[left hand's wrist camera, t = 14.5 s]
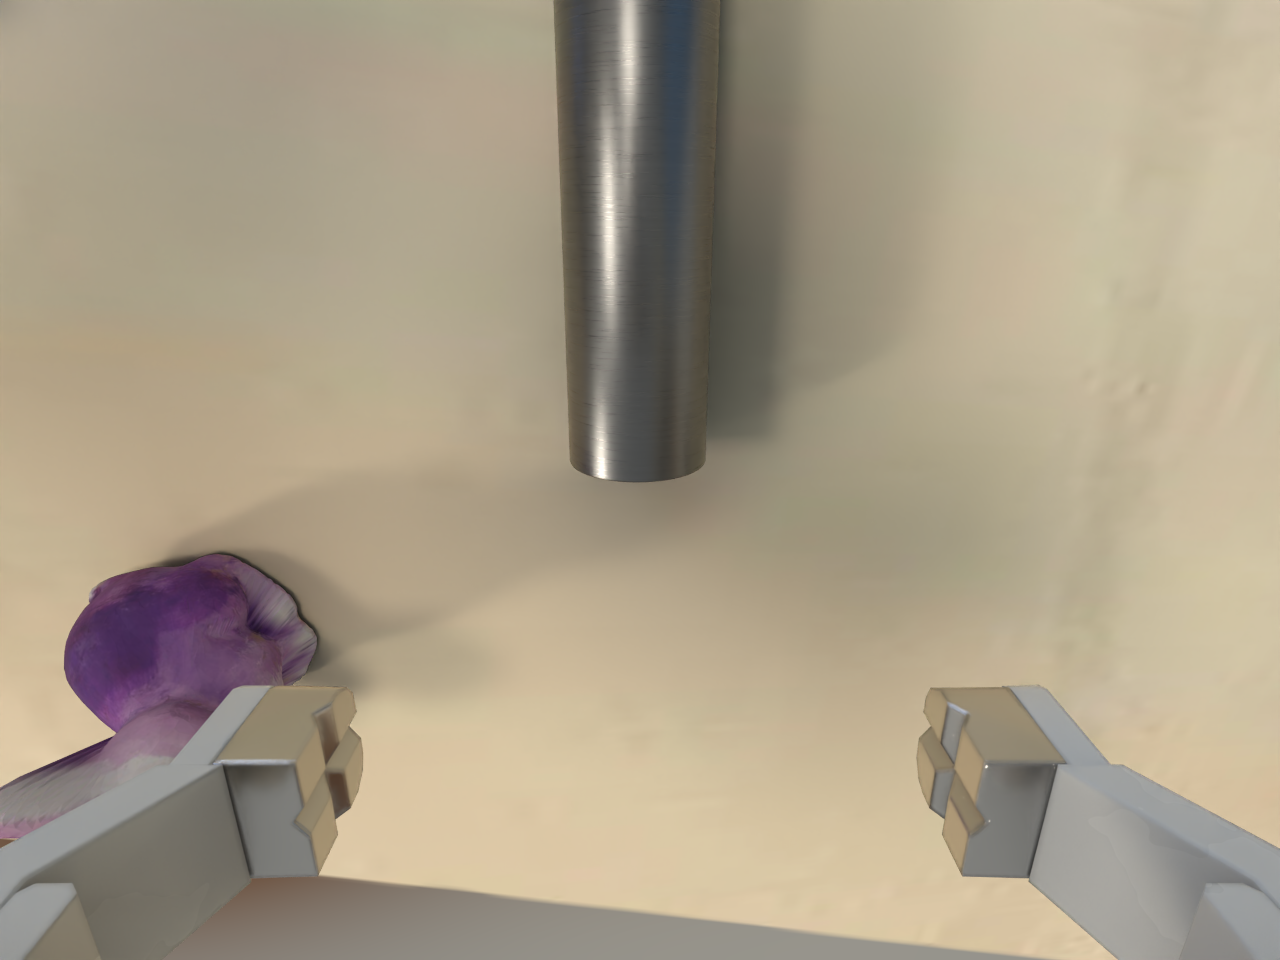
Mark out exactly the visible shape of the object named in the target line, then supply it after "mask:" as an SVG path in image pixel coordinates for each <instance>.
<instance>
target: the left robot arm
mask: <svg viewBox="0 0 1280 960" xmlns="http://www.w3.org/2000/svg"><path fill="white" fill-rule="evenodd" d="M356 712H357V711H356V706H355V702H354V697H353V692H352V691H350V690H349V689H348V688H347V687H324V686H279V685H278V686H272V685H242V686H240V687H237V688H234V689H233V690H232V691H231V692H230V693H229V694H228V695H227V697H226V698H225V699H224V700H223V701H222V703H221V704H220V705H219V706H218V707H217V708H216V710H215V711H214V712H213V713H212V714H211V716H210V717H209V718H208V719H207V720H206V722H205V723H204V724H203V725H202V726H201V727H200V729H199V730H198V731H197V732H196V733H195V735H194V736H193V737H192V738H191V739H190V740H189V742H188V743H187V744H186V745H185V746H184V748H183V749H182V750H181V751H180V752H179V754H178V755H177V756H176V757H175V758H174V759H173V761H172V762H171V763H170V764H169V765H156V766H154V767H152V768H150V769H149V770H147V771H145V772H143V773H141V774H139V775H137V776H135V777H134V778H132V779H130V780H128V781H126V782H124V783H122V784H120V785H118V786H117V787H115V788H113V789H111V790H109V791H107V792H105V793H103V794H102V795H100V796H98V797H96V798H94V799H92V800H90V801H88V802H87V803H85V804H83V805H81V806H79V807H77V808H75V809H73V810H72V811H70V812H68V813H66V814H64V815H62V816H60V817H58V818H57V819H55V820H53V821H51V822H49V823H47V824H45V825H43V826H41V827H40V828H38V829H36V830H34V831H32V832H30V833H28V834H26V835H25V836H23V837H21V838H19V839H17V840H15V841H13V842H11V843H10V844H8V845H6V846H4V847H2V848H0V960H162V959H163V958H165V957H166V956H167V955H168V954H169V953H170V952H171V951H173V950H174V949H175V948H176V947H177V946H178V945H179V944H181V943H182V942H183V941H184V940H185V939H186V938H187V937H189V936H190V935H191V934H192V933H193V932H194V931H196V930H197V929H198V928H199V927H200V926H201V925H202V924H203V923H205V922H206V921H207V920H208V919H209V918H210V917H212V916H213V915H214V914H215V913H216V912H217V911H218V910H220V909H221V908H222V907H223V906H224V905H225V904H226V903H228V902H229V901H230V900H231V899H232V898H233V897H234V896H236V895H237V894H238V893H239V892H240V891H241V890H242V889H244V888H245V887H246V886H247V885H248V884H249V883H250V882H251V878H275V877H309V876H318V875H319V873H320V871H321V869H322V866H323V864H324V862H325V860H326V858H327V856H328V854H329V852H330V850H331V848H332V846H333V844H334V842H335V840H336V838H337V835H338V832H337V826H336V820H335V819H336V818H338V817H339V816H341V815H342V814H343V813H345V812H346V811H347V810H349V809H350V808H351V806H352V804H353V802H354V799H355V797H356V795H357V793H358V790H359V785H360V781H361V776H362V771H363V749H362V742H361V738H360V737H359V736H358V735H357V734H356V733H355V732H354V731H353V730H352V729H351V728H350V727H349V725H350V723H351V721H352V720H353V718H354V716H355V714H356ZM923 712H924V714H925V716H926V718H927V720H928V721H929V723H930V725H931V727H930V728H929V729H928V730H927V731H926V732H925V733H924V734H923V735H922V736H921V737H920V738H919V743H918V751H917V768H918V778H919V782H920V786H921V789H922V793H923V795H924V797H925V799H926V802H927V804H928V806H929V808H930V809H931V810H933V811H934V812H935V813H937V814H938V815H939V816H941V817H942V818H944V819H945V820H944V826H943V832H942V836H943V838H944V840H945V842H946V844H947V846H948V848H949V850H950V852H951V854H952V856H953V858H954V860H955V862H956V864H957V866H958V868H959V870H960V873H961V875H962V876H969V877H1004V878H1029V882H1030V883H1031V884H1032V885H1033V886H1034V887H1036V888H1037V889H1038V890H1039V891H1040V892H1041V893H1042V894H1044V895H1045V896H1046V897H1047V898H1048V899H1049V900H1050V901H1052V902H1053V903H1054V904H1055V905H1056V906H1057V907H1058V908H1060V909H1061V910H1062V911H1063V912H1064V913H1065V914H1066V915H1068V916H1069V917H1070V918H1071V919H1072V920H1073V921H1074V922H1076V923H1077V924H1078V925H1079V926H1080V927H1081V928H1082V929H1084V930H1085V931H1086V932H1087V933H1088V934H1089V935H1090V936H1092V937H1093V938H1094V939H1095V940H1096V941H1097V942H1098V943H1100V944H1101V945H1102V946H1103V947H1104V948H1105V949H1106V950H1108V951H1109V952H1110V953H1111V954H1112V955H1113V956H1114V957H1116V958H1117V959H1118V960H1280V849H1279V848H1278V847H1276V846H1274V845H1272V844H1270V843H1268V842H1266V841H1264V840H1263V839H1261V838H1259V837H1257V836H1255V835H1253V834H1251V833H1249V832H1248V831H1246V830H1244V829H1242V828H1240V827H1238V826H1236V825H1234V824H1233V823H1231V822H1229V821H1227V820H1225V819H1223V818H1221V817H1219V816H1218V815H1216V814H1214V813H1212V812H1210V811H1208V810H1206V809H1204V808H1203V807H1201V806H1199V805H1197V804H1195V803H1193V802H1191V801H1190V800H1188V799H1186V798H1184V797H1182V796H1180V795H1178V794H1176V793H1175V792H1173V791H1171V790H1169V789H1167V788H1165V787H1163V786H1161V785H1160V784H1158V783H1156V782H1154V781H1152V780H1150V779H1148V778H1146V777H1145V776H1143V775H1141V774H1139V773H1137V772H1135V771H1133V770H1131V769H1130V768H1128V767H1126V766H1124V765H1111V764H1110V763H1109V762H1108V761H1107V759H1106V758H1105V757H1104V756H1103V755H1102V754H1101V752H1100V751H1099V750H1098V749H1097V748H1096V746H1095V745H1094V744H1093V743H1092V742H1091V741H1090V739H1089V738H1088V737H1087V736H1086V735H1085V733H1084V732H1083V731H1082V730H1081V729H1080V728H1079V726H1078V725H1077V724H1076V723H1075V722H1074V720H1073V719H1072V718H1071V717H1070V716H1069V715H1068V713H1067V712H1066V711H1065V710H1064V709H1063V707H1062V706H1061V705H1060V704H1059V703H1058V701H1057V700H1056V699H1055V698H1054V697H1053V696H1052V694H1051V693H1050V692H1049V691H1048V690H1047V689H1046V688H1044V687H1042V686H1040V685H1020V686H1002V687H957V688H930V690H929V692H928V694H927V696H926V700H925V706H924V711H923Z"/></svg>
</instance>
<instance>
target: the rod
mask: <svg viewBox="0 0 1280 960" xmlns="http://www.w3.org/2000/svg"><path fill="white" fill-rule="evenodd" d="M719 23H720V0H554V24H555V52H556V80H557V108H558V137H559V165H560V193H561V221H562V249H563V277H564V306H565V334H566V362H567V390H568V418H569V447H570V462H571V464H572V466H573V467H574V468H575V469H577V470H578V471H580V472H582V473H584V474H586V475H589V476H592V477H596V478H600V479H605V480H611V481H620V482H655V481H664V480H670V479H675V478H679V477H683V476H686V475H689V474H691V473H693V472H695V471H697V470H699V469H700V468H701V467H702V466H703V465H704V462H705V452H706V421H707V390H708V360H709V329H710V299H711V268H712V237H713V207H714V176H715V145H716V115H717V84H718V53H719Z"/></svg>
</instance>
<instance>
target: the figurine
mask: <svg viewBox="0 0 1280 960" xmlns="http://www.w3.org/2000/svg"><path fill="white" fill-rule="evenodd" d="M89 602H90V604H89V605H88V606H87V607H86V608H85V609H84V610H83V612H82V613H81V615H80V616H79V617H78V619H77V620H76V622H75V624H74V626H73V627H72V629H71V631H70V633H69V636H68V639H67V641H66V646H65V654H64V669H65V674H66V678H67V681H68V683H69V685H70V686H71V688H72V689H73V691H74V692H75V694H76V695H77V696H78V697H79V698H80V700H81V701H82V702H83V703H84V704H85V705H86V706H87V707H88V708H89V709H90V710H91V711H92V712H93V713H94V714H95V715H96V716H97V717H98V718H99V719H100V720H101V721H102V722H103V723H105V724H106V725H107V726H108V727H110V728H111V729H112V730H114V731H115V732H116V734H115V735H114V736H113V737H110V738H108V739H106V740H103V741H101V742H99V743H97V744H94V745H92V746H90V747H87V748H85V749H83V750H80V751H78V752H76V753H73V754H71V755H69V756H67V757H64V758H62V759H60V760H57V761H55V762H53V763H50V764H48V765H46V766H43V767H41V768H39V769H37V770H34V771H32V772H30V773H27V774H25V775H23V776H20V777H18V778H17V779H15V780H13V781H11V782H9V783H8V784H6V785H4V786H2V787H0V838H21V837H23V836H25V835H26V834H28V833H30V832H32V831H34V830H36V829H38V828H40V827H41V826H43V825H45V824H47V823H49V822H51V821H53V820H55V819H57V818H58V817H60V816H62V815H64V814H66V813H68V812H70V811H72V810H73V809H75V808H77V807H79V806H81V805H83V804H85V803H87V802H88V801H90V800H92V799H94V798H96V797H98V796H100V795H102V794H103V793H105V792H107V791H109V790H111V789H113V788H115V787H117V786H118V785H120V784H122V783H124V782H126V781H128V780H130V779H132V778H134V777H135V776H137V775H139V774H141V773H143V772H145V771H147V770H149V769H150V768H152V767H154V766H156V765H169V764H170V763H171V762H172V761H173V759H174V758H175V757H176V756H177V755H178V754H179V752H180V751H181V750H182V749H183V748H184V746H185V745H186V744H187V743H188V742H189V740H190V739H191V738H192V737H193V736H194V735H195V733H196V732H197V731H198V730H199V729H200V727H201V726H202V725H203V724H204V723H205V722H206V720H207V719H208V718H209V717H210V716H211V714H212V713H213V712H214V711H215V710H216V708H217V707H218V706H219V705H220V704H221V703H222V701H223V700H224V699H225V698H226V697H227V695H228V694H229V693H230V692H231V691H232V690H233V689H234V688H237V687H240V686H242V685H272V686H278V685H279V686H291V685H293V684H294V682H296V681H298V680H300V679H301V677H302V676H304V675H305V673H306V671H307V669H308V665H310V663H309V662H310V661H311V658H313V654H315V653H314V651H315V650H316V646H317V642H316V641H317V637H316V635H315V633H314V631H313V629H311V628H310V627H309V626H308V625H307V624H306V623H305V622H304V621H302V620H301V619H300V617H299V616H298V613H297V605H296V603H295V602H294V600H293V599H292V597H291V595H290V594H287V593H286V591H285V590H284V589H283V588H282V587H280V586H279V585H278V584H274V582H273V581H272V580H271V579H269V578H267V577H266V576H265V575H263V574H262V573H261V572H259V571H258V570H256V569H255V568H252V567H251V566H249V565H248V564H246V563H242V562H241V560H239V559H237V558H235V557H233V556H229V555H220V554H212V555H206V556H203V557H201V558H199V559H197V560H195V561H193V562H190V563H188V564H185V565H183V566H178V567H152V568H146V569H141V570H137V571H133V572H129V573H125V574H121V575H117V576H114V577H112V578H109V579H107V580H105V581H103V582H101V583H99V584H98V585H97V586H95V587H94V588H93V589H92V590H91V591H90V593H89Z"/></svg>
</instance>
